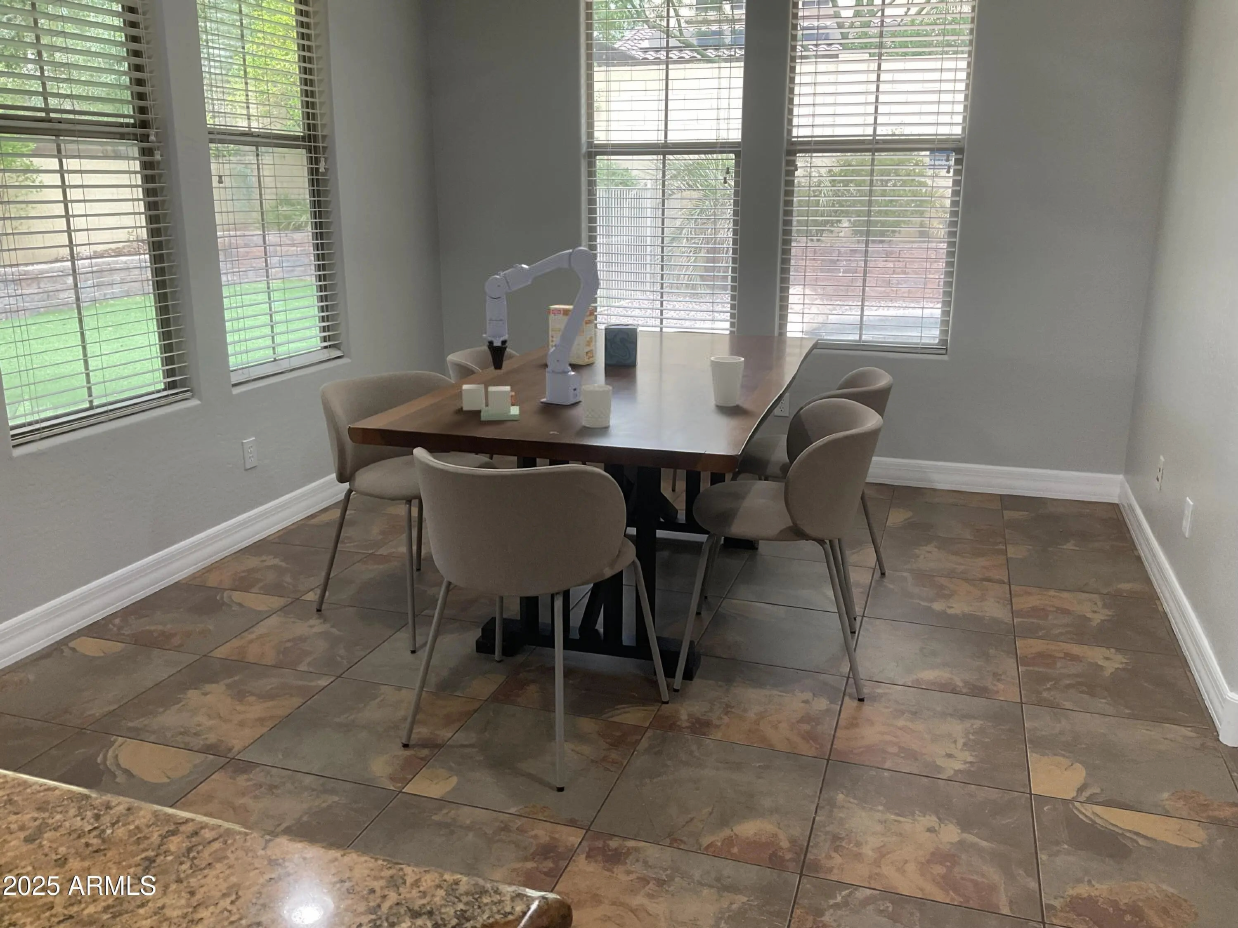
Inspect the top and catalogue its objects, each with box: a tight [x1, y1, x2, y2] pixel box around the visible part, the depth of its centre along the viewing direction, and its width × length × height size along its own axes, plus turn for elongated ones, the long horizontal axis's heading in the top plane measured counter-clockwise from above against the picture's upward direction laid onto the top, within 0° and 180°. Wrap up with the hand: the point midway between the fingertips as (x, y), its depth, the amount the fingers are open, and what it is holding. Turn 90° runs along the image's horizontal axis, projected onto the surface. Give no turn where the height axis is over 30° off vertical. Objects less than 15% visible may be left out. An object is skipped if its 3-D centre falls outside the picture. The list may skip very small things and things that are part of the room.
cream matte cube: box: [487, 385, 511, 413], centre depth 268 cm, size 6×6×6 cm
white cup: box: [580, 383, 613, 429], centre depth 258 cm, size 8×8×10 cm
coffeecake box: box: [548, 304, 596, 366], centre depth 350 cm, size 15×7×20 cm, turn 58°
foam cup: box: [709, 355, 745, 407], centre depth 283 cm, size 10×9×13 cm
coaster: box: [480, 405, 520, 421], centre depth 269 cm, size 10×10×2 cm
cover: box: [461, 384, 486, 411], centre depth 279 cm, size 6×6×6 cm
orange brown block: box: [510, 391, 516, 406], centre depth 280 cm, size 4×4×4 cm
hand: (498, 367), depth 285 cm, fingers open, 7 cm apart
